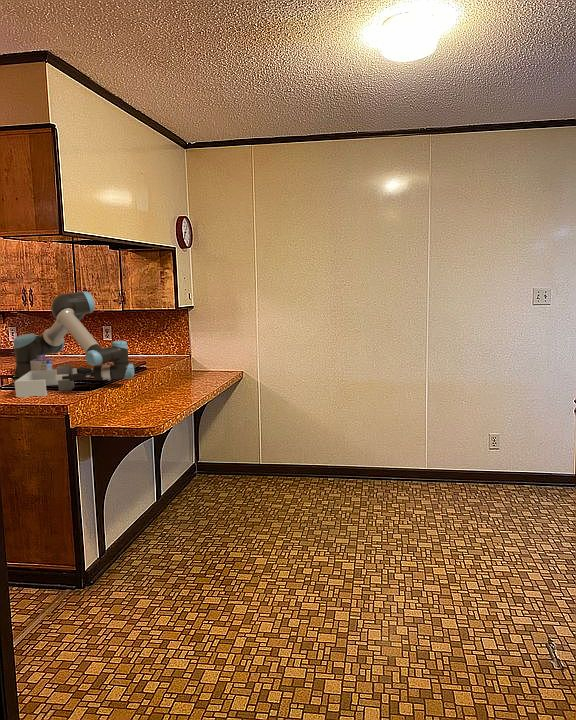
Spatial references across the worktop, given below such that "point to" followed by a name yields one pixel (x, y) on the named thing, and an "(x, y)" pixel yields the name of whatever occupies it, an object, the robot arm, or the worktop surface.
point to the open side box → (35, 383)
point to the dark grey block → (65, 384)
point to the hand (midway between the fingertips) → (59, 374)
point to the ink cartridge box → (41, 364)
